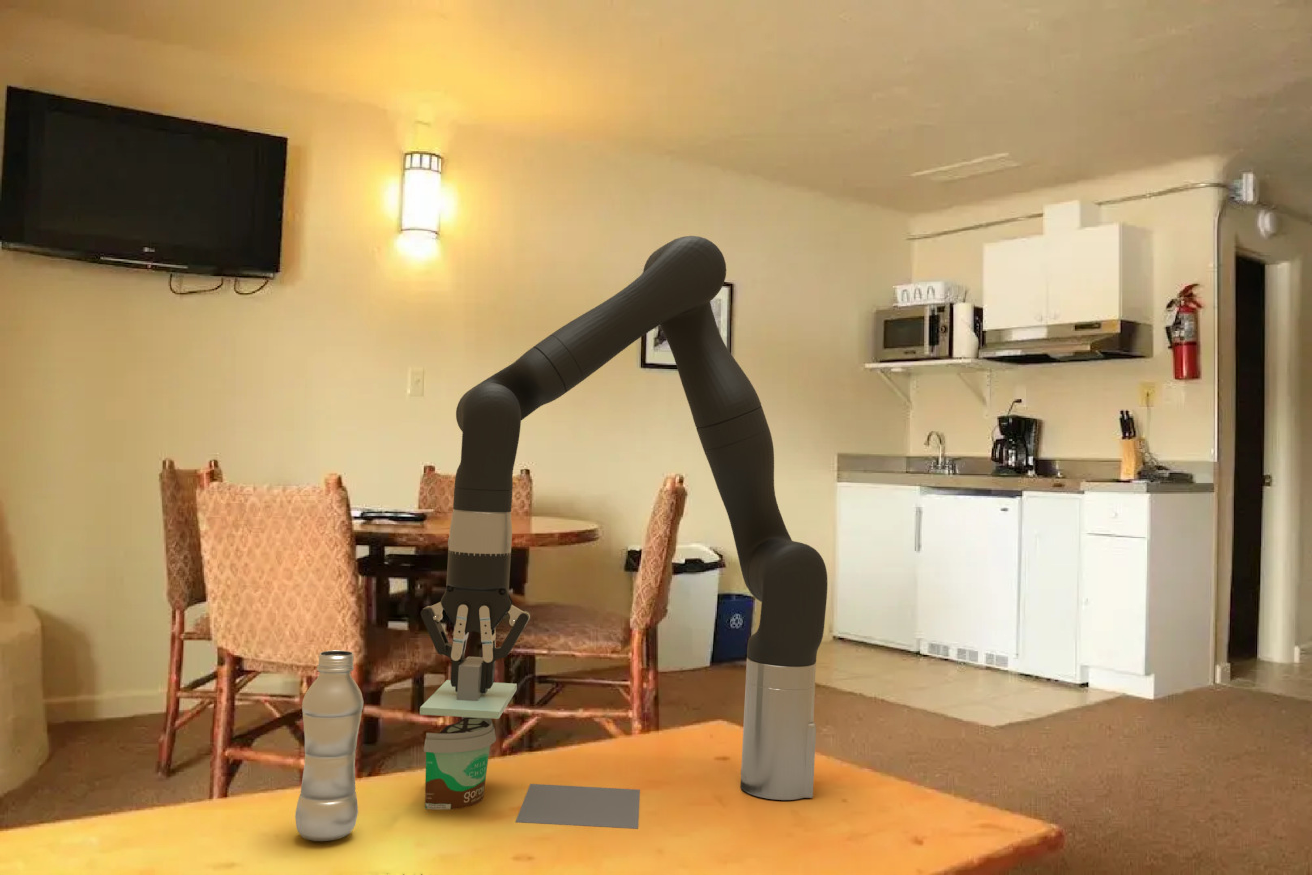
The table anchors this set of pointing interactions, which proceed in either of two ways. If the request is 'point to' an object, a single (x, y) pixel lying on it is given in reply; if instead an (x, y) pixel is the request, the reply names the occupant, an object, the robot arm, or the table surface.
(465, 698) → the lid
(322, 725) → the plastic bottle
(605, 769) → the table surface
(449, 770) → the food container
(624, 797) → the rubber mat
